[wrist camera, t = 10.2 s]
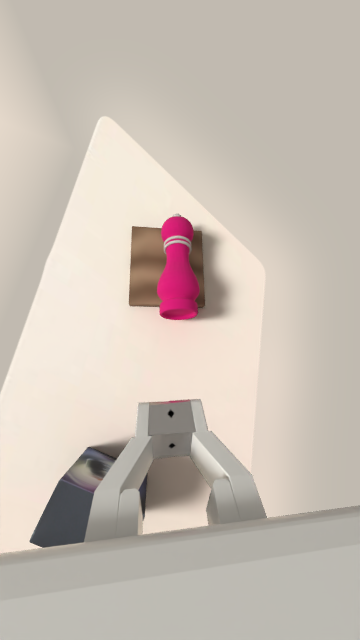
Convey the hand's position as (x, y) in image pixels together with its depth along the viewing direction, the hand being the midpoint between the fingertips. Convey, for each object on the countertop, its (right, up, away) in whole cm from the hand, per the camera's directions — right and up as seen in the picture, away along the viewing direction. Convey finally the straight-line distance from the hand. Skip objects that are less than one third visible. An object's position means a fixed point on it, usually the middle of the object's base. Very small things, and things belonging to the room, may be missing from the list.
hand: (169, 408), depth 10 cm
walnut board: (-2, +15, +31) cm, 34 cm away
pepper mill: (0, +5, +24) cm, 24 cm away
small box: (-10, -20, +22) cm, 32 cm away
